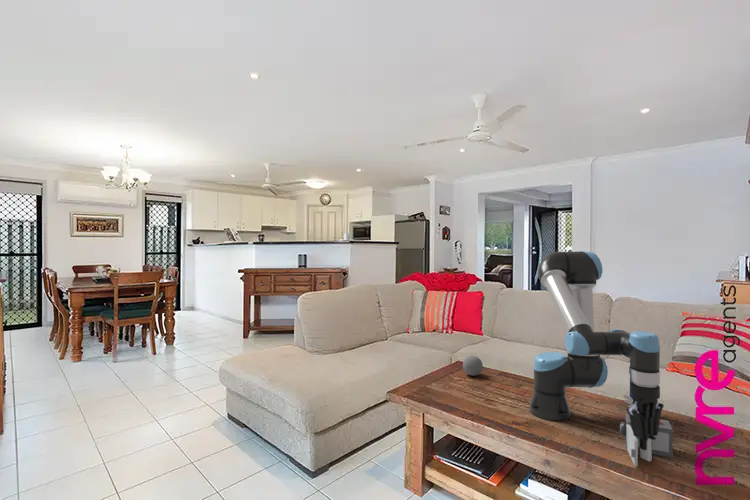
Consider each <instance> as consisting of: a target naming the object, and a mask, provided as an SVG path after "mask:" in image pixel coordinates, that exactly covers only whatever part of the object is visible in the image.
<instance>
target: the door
mask: <svg viewBox="0 0 750 500" xmlns="http://www.w3.org/2000/svg"><path fill="white" fill-rule="evenodd" d="M625 449H626V450H627V453H628V455H629V457H630V459H631V462H632V464H633V466H634V468H635V467H636V468H638V463H639V462H638V459H639V457H638V455H639V453H638V452H639V451H638V440H637V438H636V436H634V435H633V430H632V428H631V425H630V424H626V436H625Z"/></svg>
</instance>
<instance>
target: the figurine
mask: <svg viewBox="0 0 750 500" xmlns="http://www.w3.org/2000/svg"><path fill="white" fill-rule="evenodd" d="M623 398H624V399H626V400H624V403H627V404H628V406H627V407H629V408H631V407H632V406H633V399H632V398H631V397H630V395H628V394H624V395H623ZM629 404H630V405H629Z"/></svg>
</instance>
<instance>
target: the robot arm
mask: <svg viewBox="0 0 750 500" xmlns="http://www.w3.org/2000/svg"><path fill="white" fill-rule="evenodd" d="M537 270H538V271H537V272H538V273H537V275H538V279H539V281H540V283H541V285H542V286H543V287H544V288H546V289H547V292H548V294H549V295H550V298H551V300H552V303H553V304H554V306H555V309H556V311H557V313H558V315H559V317H560V320H561V322H562V323H563V326H564V327H565V330H566V334H565V335H564V344H565V349H566V351H567V356H566V355H565V354H564V353H562V352H554V351H548V352H542V353H539V354H537V355H535V358H534V359H533V360H534V361H533V362H534V363H533V392H532V393H533V394H532V395H531V399H530V401H529V406H528V407H529V408H528V409H529V412H530V413H531V414H532V415H534V416H535V417H538V418H540V419H544V420H548V421H558V422H559V421H565V420H569V419H570V418H571V407H570V405H569V401H568V398H567V396H566V390H567V389H566V388H589V389H591V388H600V387H602V386H603V385H604V384H605V383H606V381H607V379H608V376H609V375H608V374H609V373H608V372H609V371H608V370H609V369H608V364H607V362H606V360H605V359H604V358H603V357H601V356H623V357H626V358H628V359H629V367H630V374H629V380H630V379H631V383H630V382H629V393H630V392H631V394H632V395H633V397H634V399H633V406H632V407H631V408H629V407H628V406H627V407H626V412H627V414H629V416H630V421H631V425H632V430H633V435H634V436H636V437H638V438H639V443H640V444H639V446H640V451H639V457H640V458H641V459H643V460H645V461H647V462H651V461H652V458H653V457H652V455H653V454H652V450H651V448H652V439H653V440H655V439H656V438H655V437H654V435H655V436H657V434H658V429H659V423H660V419H661V416H662V411H663V408H664V406H665V405H664V404H663V403H661V402H659V401H658V400H659V399H660V397H661V387H660V384H661V372H660V368H661V367H660V362H661V361H660V357H661V356H660V355H661V354H660V353H661V352H660V350H661V348H660V347H661V346H660V342H659V341H660V340H659V339H660V338H659V336H658V335H657V334H656V333H654V332H648V331H642V330H641V331H640V330H635V331H631V332H628V331H625V330H621V329H616V328H615V329H614V328H613V329H611V330H609V331H595V315H594V297H593V296H594V293H593V292H594V291H593V289H594V288H595V287H596V286H597V281H599V280H600V279H601V278H602V274H603V270H604V269H603V264H602V261H601V259H600V258H599V256H598V255H597V254H596V253H594V252H592V251H584V250H583V251H582V250H581V251H553V252H551V253H548V254H547V255H546V256H545V257H544V258H543V259H542V260H541V261H540V263H539V265H538V269H537Z"/></svg>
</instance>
